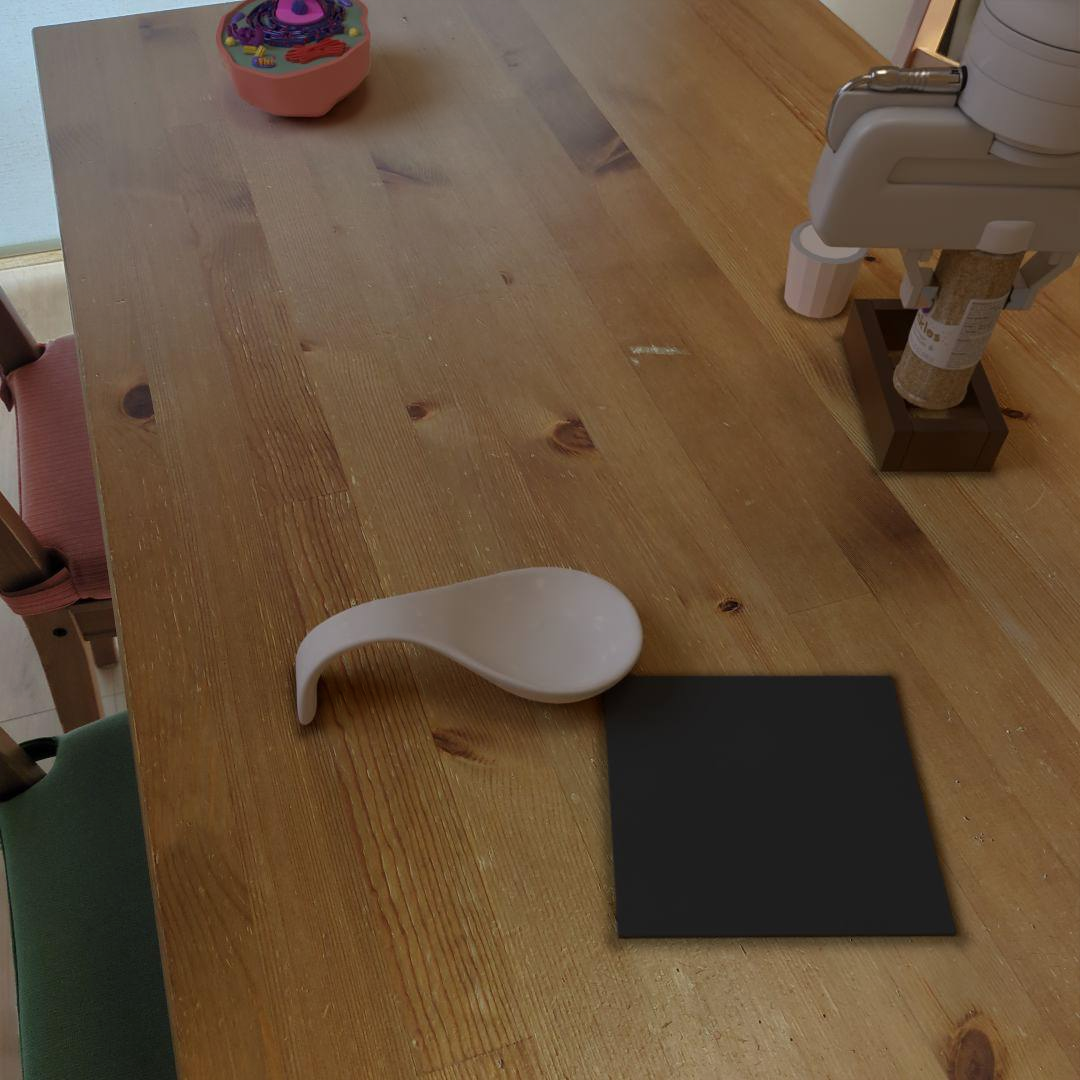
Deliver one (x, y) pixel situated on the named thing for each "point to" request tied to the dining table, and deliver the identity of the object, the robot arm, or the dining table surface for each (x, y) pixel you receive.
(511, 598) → the spoon rest
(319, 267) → the dining table surface
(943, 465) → the bottle rack
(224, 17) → the cell model
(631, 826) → the mat
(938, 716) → the dining table surface
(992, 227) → the sprinkles bottle
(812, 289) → the white short cylinder
